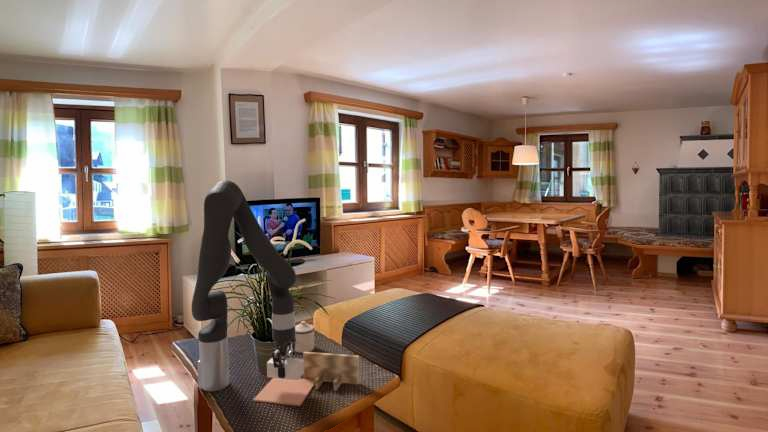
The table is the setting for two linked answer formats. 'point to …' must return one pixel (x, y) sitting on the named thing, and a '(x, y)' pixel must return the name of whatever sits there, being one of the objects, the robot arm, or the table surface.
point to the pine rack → (331, 368)
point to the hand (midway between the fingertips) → (285, 373)
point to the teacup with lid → (304, 337)
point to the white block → (287, 369)
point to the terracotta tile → (285, 391)
